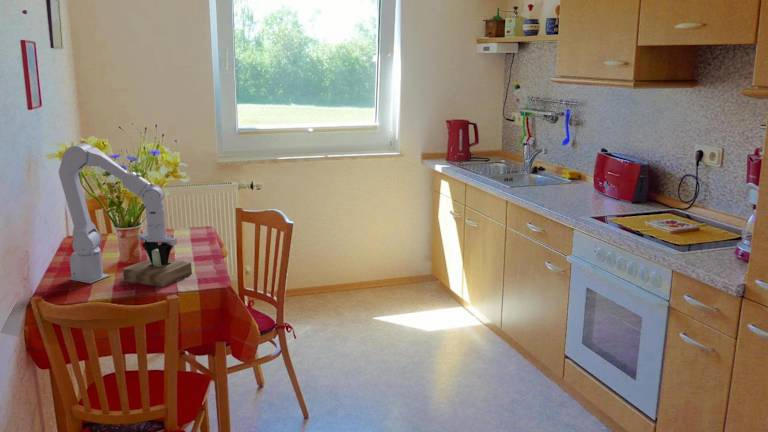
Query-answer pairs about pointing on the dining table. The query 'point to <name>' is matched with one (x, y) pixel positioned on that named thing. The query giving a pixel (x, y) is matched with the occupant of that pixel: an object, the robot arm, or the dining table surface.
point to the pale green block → (156, 259)
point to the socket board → (157, 272)
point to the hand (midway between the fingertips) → (159, 263)
